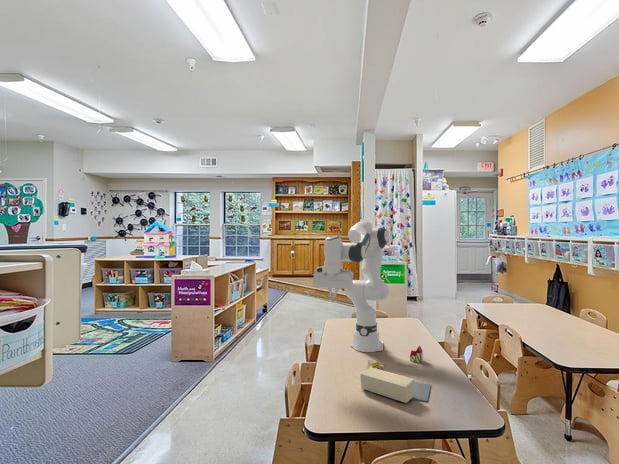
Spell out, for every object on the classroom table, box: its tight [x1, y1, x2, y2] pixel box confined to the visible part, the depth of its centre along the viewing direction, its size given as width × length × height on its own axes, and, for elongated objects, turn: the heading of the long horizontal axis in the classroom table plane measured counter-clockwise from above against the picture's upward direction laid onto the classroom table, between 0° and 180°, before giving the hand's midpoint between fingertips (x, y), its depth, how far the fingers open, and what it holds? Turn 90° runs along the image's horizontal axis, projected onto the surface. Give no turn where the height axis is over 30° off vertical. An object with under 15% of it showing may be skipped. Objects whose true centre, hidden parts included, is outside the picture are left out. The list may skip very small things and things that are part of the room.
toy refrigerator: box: [360, 366, 415, 404], centre depth 147 cm, size 8×7×21 cm
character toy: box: [367, 358, 385, 369], centre depth 174 cm, size 8×3×8 cm
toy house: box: [409, 345, 424, 364], centre depth 184 cm, size 6×7×8 cm
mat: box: [369, 381, 432, 403], centre depth 151 cm, size 16×23×1 cm
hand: (333, 296), depth 175 cm, fingers closed
